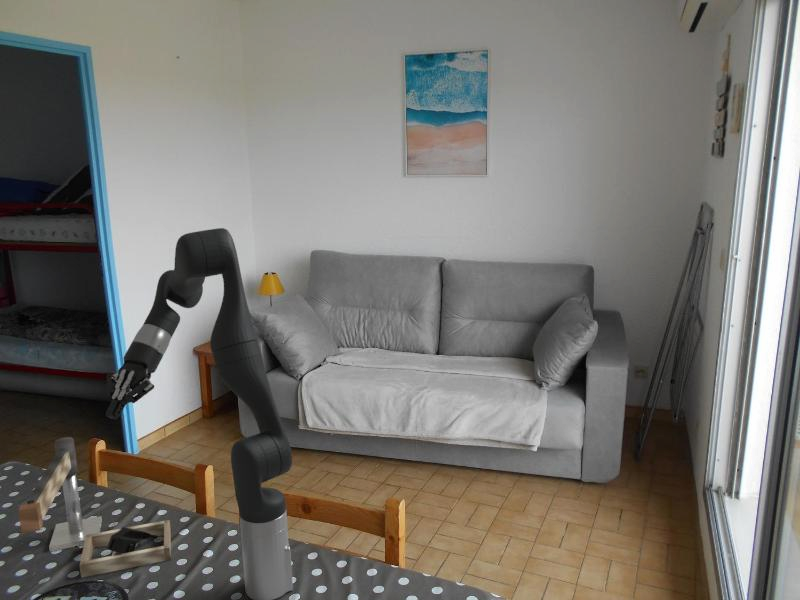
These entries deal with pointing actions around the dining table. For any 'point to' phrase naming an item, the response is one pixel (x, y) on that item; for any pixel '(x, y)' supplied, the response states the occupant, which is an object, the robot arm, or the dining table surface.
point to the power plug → (126, 540)
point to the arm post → (73, 520)
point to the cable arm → (48, 485)
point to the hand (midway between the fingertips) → (111, 417)
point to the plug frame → (126, 559)
